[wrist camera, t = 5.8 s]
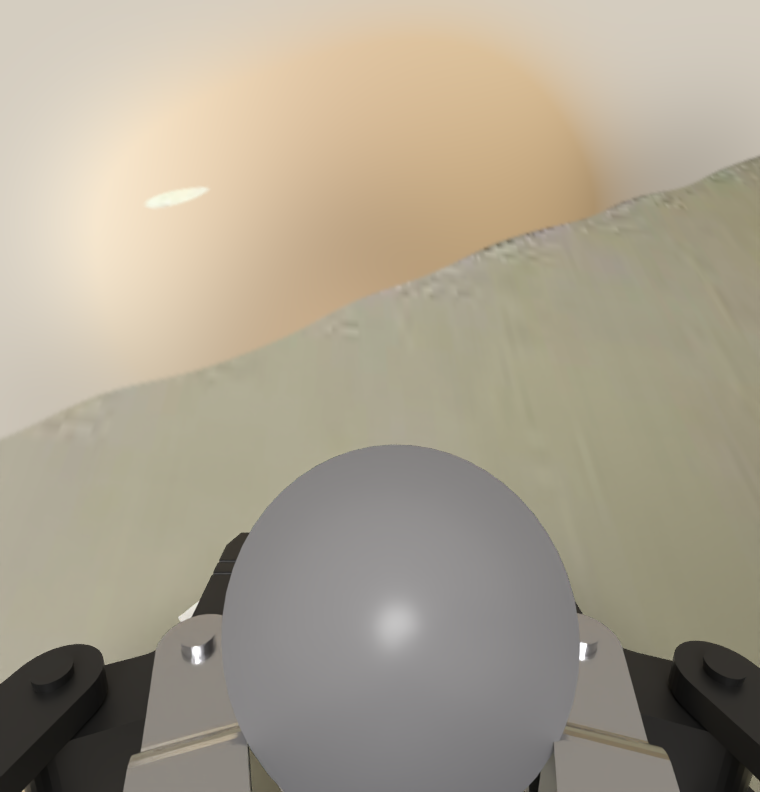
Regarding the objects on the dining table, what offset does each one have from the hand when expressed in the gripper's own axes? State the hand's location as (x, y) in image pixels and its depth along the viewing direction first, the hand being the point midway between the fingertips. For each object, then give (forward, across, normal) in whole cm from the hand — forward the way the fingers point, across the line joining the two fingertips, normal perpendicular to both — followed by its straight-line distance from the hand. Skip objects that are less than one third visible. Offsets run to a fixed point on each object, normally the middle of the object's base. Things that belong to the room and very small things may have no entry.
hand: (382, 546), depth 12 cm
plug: (+2, 0, +4) cm, 5 cm away
